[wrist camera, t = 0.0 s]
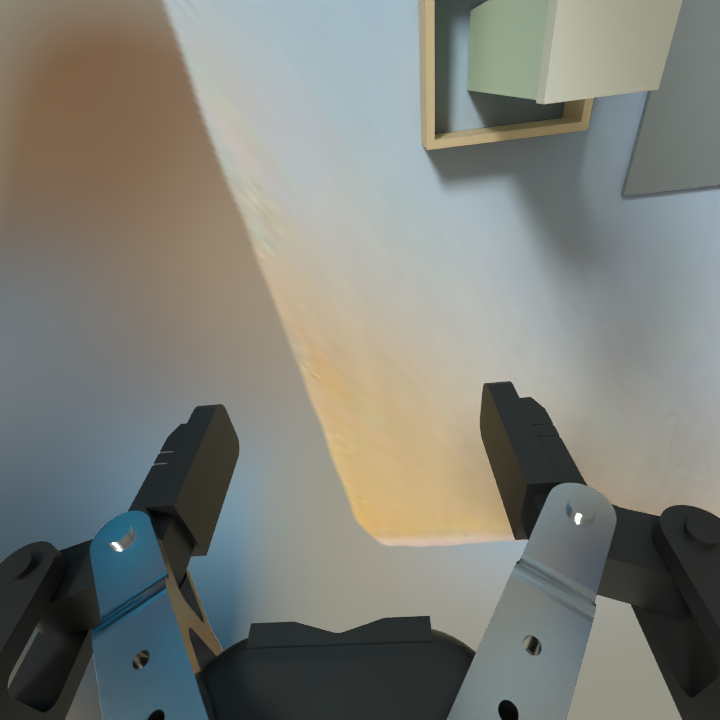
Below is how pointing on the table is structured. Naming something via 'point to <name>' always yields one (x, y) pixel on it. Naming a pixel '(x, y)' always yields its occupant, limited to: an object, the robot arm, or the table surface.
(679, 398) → the table surface
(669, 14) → the tea tin
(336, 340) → the table surface
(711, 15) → the mat
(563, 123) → the wooden square frame
